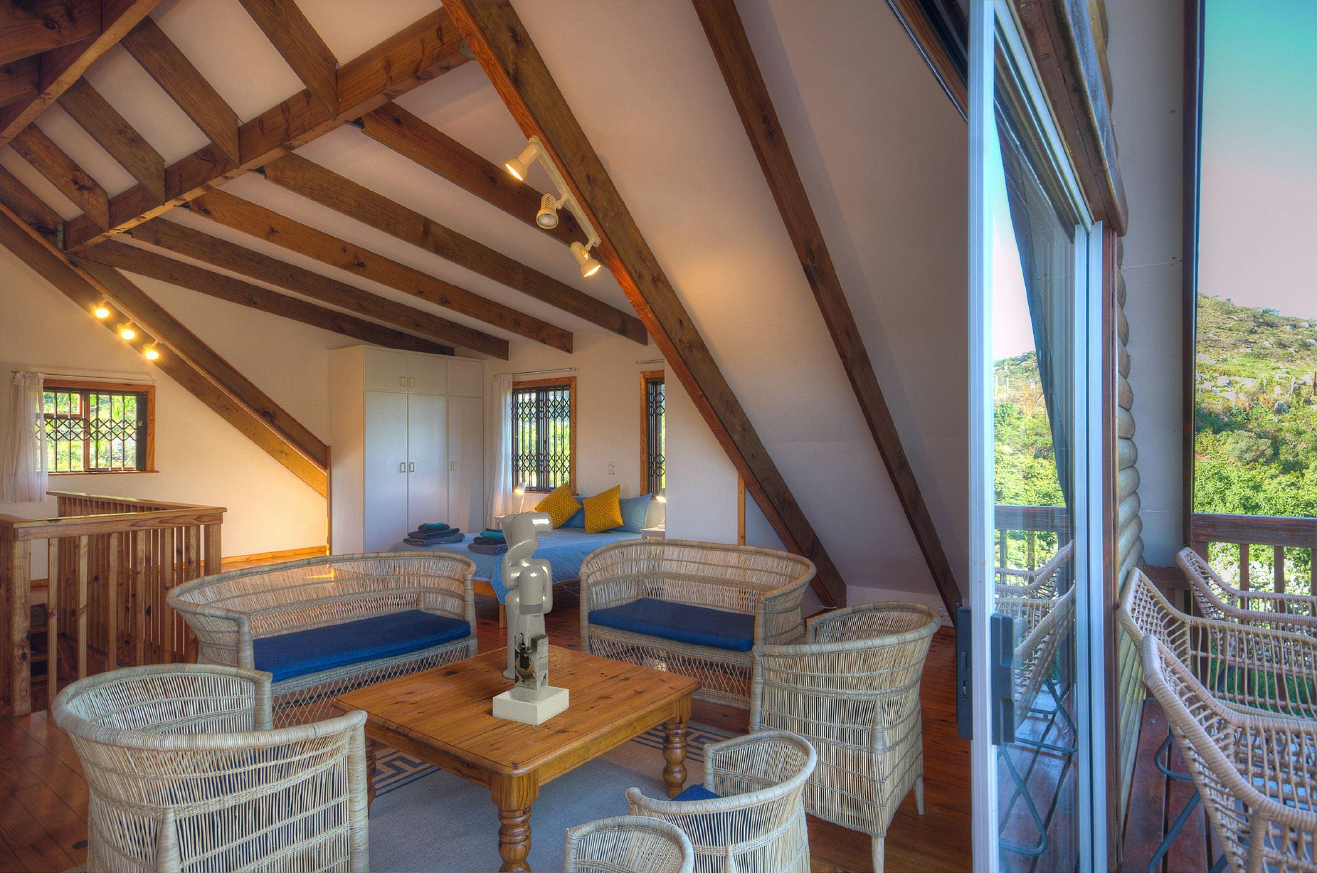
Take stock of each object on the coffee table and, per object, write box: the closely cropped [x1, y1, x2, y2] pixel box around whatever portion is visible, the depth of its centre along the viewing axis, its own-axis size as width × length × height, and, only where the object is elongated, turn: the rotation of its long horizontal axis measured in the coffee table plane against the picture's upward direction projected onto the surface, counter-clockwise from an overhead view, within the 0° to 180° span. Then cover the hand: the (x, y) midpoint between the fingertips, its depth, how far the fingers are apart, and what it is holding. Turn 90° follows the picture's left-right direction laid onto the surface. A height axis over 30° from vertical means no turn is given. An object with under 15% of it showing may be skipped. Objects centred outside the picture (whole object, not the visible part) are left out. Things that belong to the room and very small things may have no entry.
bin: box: [492, 685, 570, 726], centre depth 234 cm, size 17×17×6 cm
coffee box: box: [514, 634, 549, 690], centre depth 235 cm, size 9×6×16 cm
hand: (531, 664), depth 235 cm, fingers closed on coffee box, 6 cm apart
